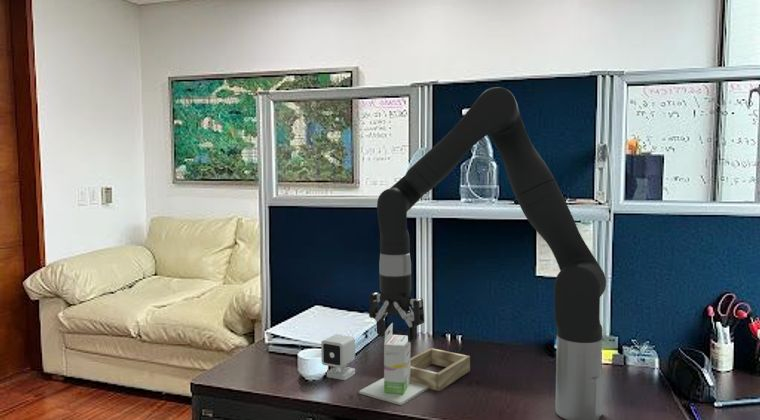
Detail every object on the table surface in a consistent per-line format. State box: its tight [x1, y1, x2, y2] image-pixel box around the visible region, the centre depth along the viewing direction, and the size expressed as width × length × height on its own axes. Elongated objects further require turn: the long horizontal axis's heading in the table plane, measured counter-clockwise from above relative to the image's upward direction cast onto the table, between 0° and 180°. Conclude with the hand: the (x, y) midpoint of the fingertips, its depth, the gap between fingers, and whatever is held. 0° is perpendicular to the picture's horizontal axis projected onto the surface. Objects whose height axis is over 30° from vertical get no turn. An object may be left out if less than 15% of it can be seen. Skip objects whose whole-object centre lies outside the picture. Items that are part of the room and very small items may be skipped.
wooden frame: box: [410, 347, 471, 392], centre depth 150 cm, size 12×16×4 cm
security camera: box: [320, 333, 356, 381], centre depth 150 cm, size 6×7×10 cm
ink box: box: [383, 322, 412, 394], centre depth 141 cm, size 9×5×15 cm, turn 165°
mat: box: [358, 377, 430, 406], centre depth 142 cm, size 12×14×1 cm
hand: (396, 338), depth 140 cm, fingers open, 8 cm apart
